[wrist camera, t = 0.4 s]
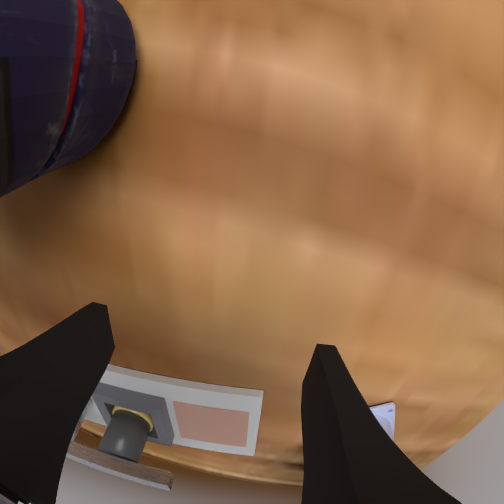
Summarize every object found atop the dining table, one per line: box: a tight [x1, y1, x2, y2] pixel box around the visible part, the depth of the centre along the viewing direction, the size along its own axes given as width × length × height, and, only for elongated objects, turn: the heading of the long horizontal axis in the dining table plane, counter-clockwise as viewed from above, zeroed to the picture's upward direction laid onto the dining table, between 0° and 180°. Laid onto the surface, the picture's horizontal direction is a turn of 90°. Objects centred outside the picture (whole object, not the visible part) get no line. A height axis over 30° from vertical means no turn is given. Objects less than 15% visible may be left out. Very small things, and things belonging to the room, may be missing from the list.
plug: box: [98, 406, 154, 463], centre depth 26 cm, size 4×4×6 cm
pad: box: [173, 401, 249, 447], centre depth 28 cm, size 7×7×1 cm
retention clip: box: [66, 399, 174, 491], centre depth 25 cm, size 13×2×8 cm, turn 87°
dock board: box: [84, 364, 264, 456], centre depth 28 cm, size 22×12×2 cm, turn 87°
